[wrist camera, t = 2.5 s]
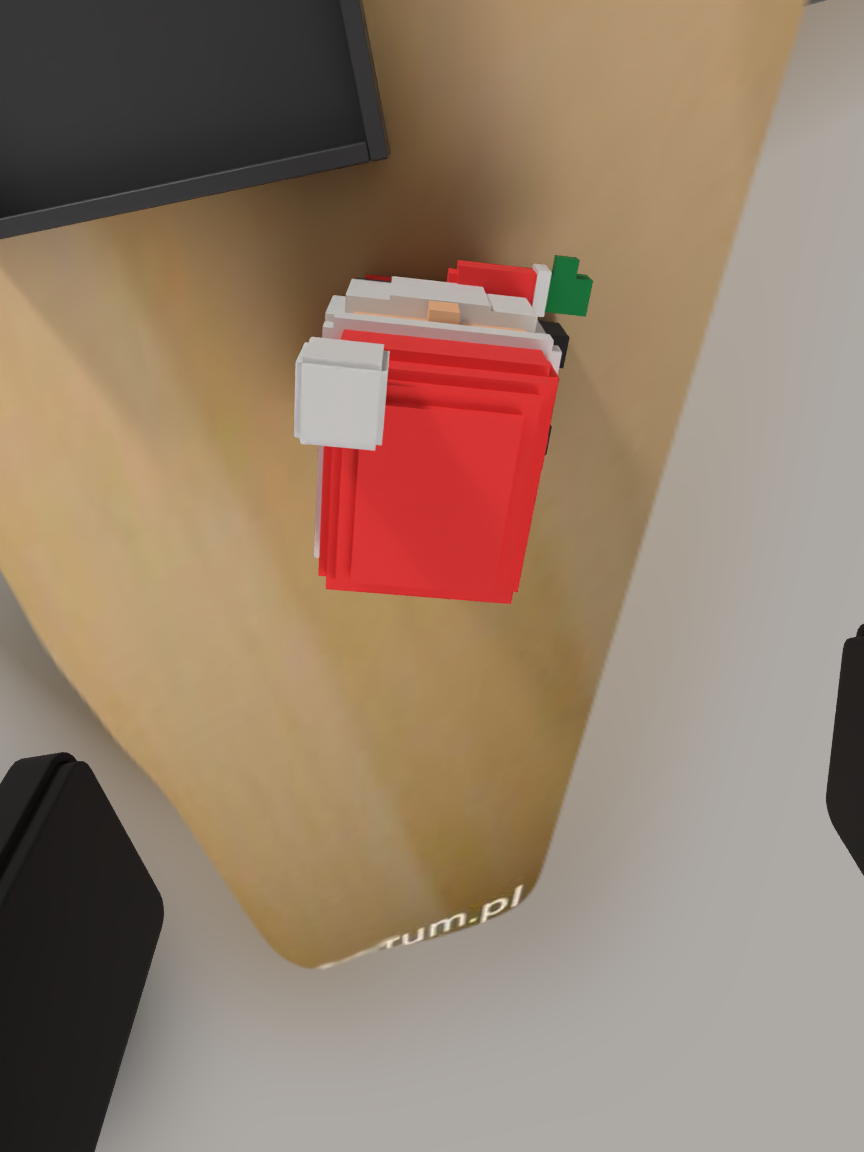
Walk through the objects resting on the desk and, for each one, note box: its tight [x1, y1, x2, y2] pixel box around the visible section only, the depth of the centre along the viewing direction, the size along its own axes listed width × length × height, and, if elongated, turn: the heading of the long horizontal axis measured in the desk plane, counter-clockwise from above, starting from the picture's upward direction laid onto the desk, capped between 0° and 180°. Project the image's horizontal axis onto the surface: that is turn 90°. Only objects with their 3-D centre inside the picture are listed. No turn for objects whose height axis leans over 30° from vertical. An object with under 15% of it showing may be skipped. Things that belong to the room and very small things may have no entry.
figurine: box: [294, 255, 593, 604], centre depth 21 cm, size 8×7×12 cm
